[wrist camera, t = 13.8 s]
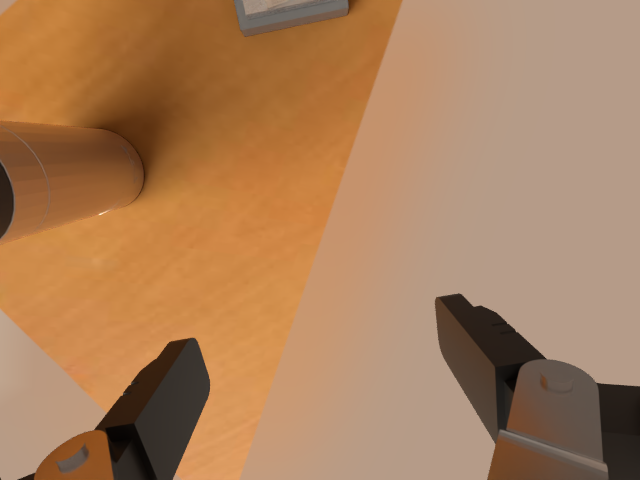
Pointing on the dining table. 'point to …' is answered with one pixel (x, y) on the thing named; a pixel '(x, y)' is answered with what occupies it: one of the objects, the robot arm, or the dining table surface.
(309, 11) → the scale base
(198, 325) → the dining table surface
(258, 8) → the platter
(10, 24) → the dining table surface
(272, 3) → the small box
